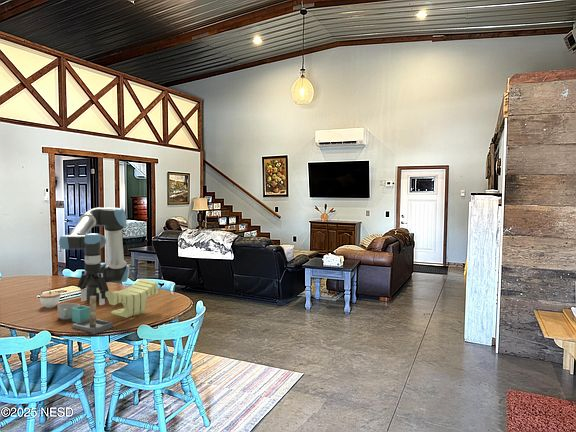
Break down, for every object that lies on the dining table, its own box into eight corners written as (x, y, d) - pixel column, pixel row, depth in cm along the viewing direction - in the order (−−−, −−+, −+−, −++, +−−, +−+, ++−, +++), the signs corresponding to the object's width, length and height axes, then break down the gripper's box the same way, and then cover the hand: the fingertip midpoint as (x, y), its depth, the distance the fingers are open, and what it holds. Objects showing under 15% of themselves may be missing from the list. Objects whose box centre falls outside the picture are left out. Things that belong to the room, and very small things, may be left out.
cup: (72, 322, 215) (71, 308, 214) (82, 319, 221) (82, 305, 220) (80, 324, 212) (80, 309, 212) (90, 321, 218) (90, 306, 218)
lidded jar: (64, 305, 247) (64, 290, 246) (48, 309, 237) (48, 294, 236) (51, 303, 250) (51, 288, 250) (35, 307, 240) (35, 292, 240)
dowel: (88, 326, 206) (88, 296, 205) (93, 325, 209) (93, 295, 208) (92, 327, 205) (92, 297, 204) (97, 325, 208) (97, 296, 207)
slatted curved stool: (114, 323, 215) (114, 291, 214) (96, 318, 223) (96, 287, 222) (157, 310, 240) (158, 282, 239) (140, 306, 248) (140, 278, 247)
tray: (72, 329, 205) (72, 324, 205) (92, 322, 216) (92, 317, 216) (93, 334, 198) (93, 329, 198) (113, 327, 209) (113, 322, 209)
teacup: (63, 315, 226) (63, 302, 226) (82, 315, 227) (82, 302, 226) (50, 323, 212) (50, 309, 212) (71, 323, 213) (71, 309, 213)
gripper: (69, 261, 207) (70, 301, 208) (103, 266, 197) (103, 308, 198) (82, 259, 214) (82, 297, 215) (115, 264, 203) (115, 304, 205)
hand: (92, 302), depth 206 cm, fingers open, 13 cm apart
